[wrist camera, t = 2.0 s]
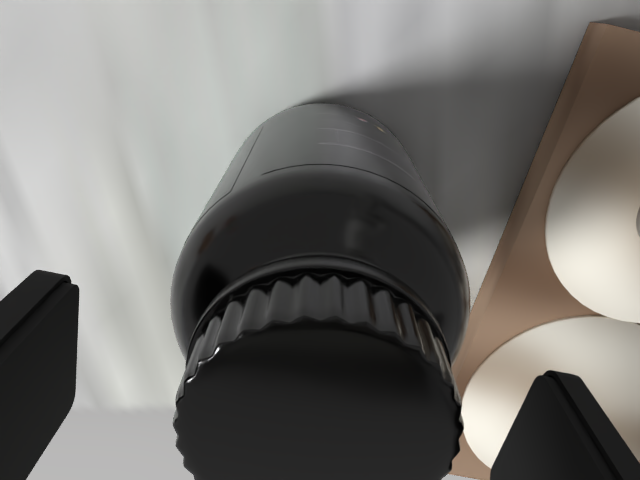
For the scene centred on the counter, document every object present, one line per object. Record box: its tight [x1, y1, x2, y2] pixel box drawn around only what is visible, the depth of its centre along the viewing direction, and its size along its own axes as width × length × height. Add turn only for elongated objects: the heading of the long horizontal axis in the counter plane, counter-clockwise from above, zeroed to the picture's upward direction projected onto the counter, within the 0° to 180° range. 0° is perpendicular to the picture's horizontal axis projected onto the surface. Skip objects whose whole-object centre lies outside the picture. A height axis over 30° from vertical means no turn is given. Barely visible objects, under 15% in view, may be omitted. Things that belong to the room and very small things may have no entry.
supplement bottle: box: [170, 103, 470, 480], centre depth 14 cm, size 7×7×12 cm
